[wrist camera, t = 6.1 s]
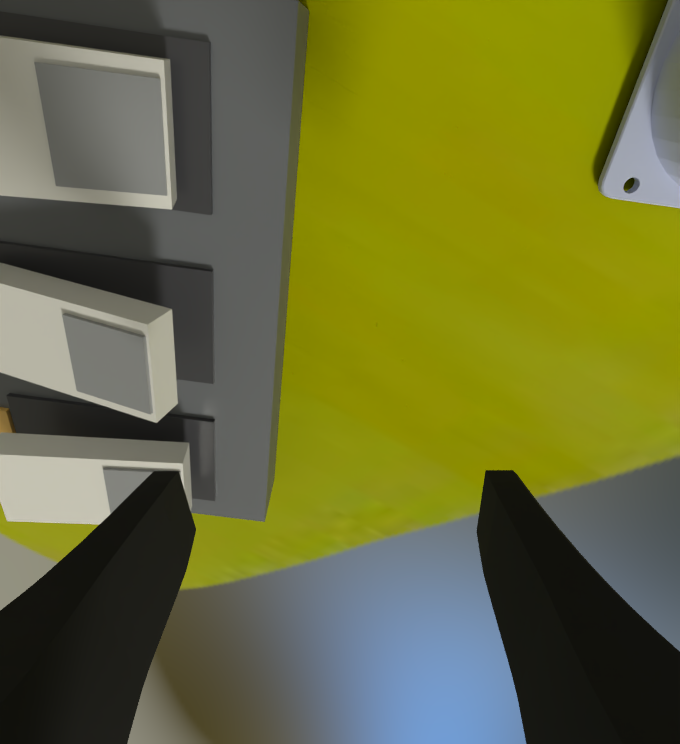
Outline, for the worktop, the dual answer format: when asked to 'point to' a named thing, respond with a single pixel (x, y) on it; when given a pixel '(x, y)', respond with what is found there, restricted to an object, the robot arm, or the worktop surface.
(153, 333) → the rocker middle
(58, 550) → the worktop surface
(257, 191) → the switch unit
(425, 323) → the worktop surface
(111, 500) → the block
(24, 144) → the block
